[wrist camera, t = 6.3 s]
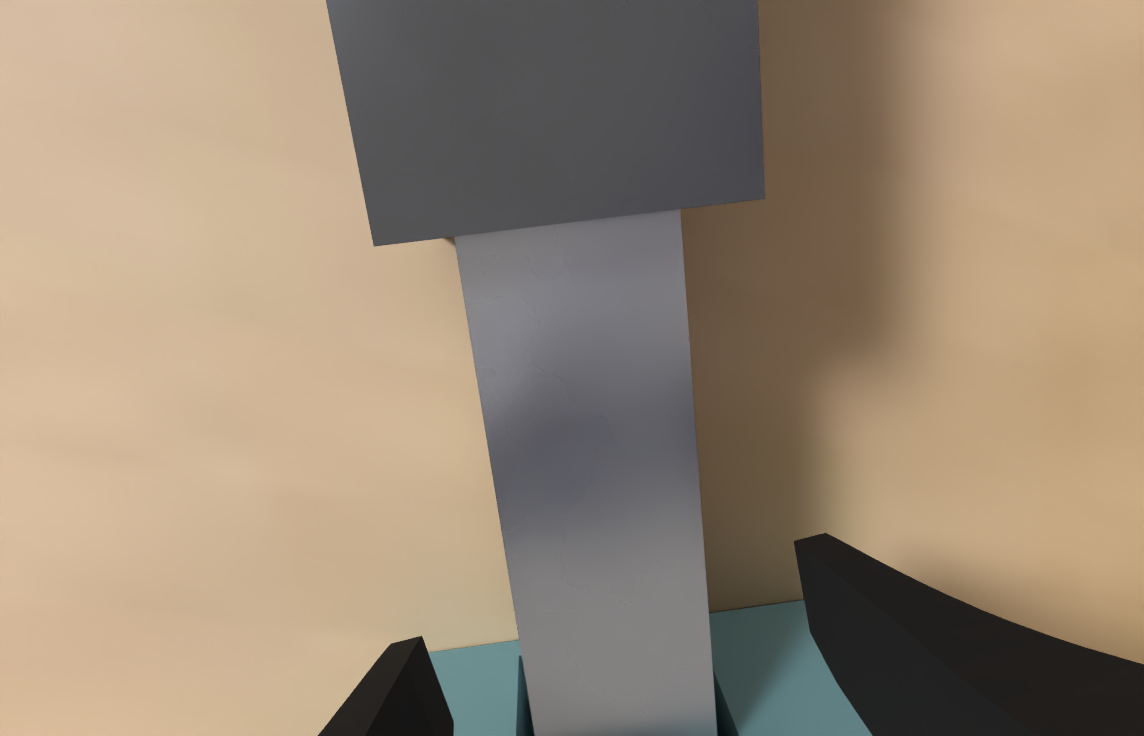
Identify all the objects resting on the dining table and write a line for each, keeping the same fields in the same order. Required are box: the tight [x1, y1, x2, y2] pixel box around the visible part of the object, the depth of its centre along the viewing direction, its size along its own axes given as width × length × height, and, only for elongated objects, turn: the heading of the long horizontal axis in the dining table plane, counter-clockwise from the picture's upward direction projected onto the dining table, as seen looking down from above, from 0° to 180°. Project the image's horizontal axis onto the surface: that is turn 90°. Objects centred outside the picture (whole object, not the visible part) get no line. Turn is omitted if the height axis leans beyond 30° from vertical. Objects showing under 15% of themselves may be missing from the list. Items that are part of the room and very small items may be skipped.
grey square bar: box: [454, 209, 717, 736], centre depth 13 cm, size 4×18×4 cm, turn 7°
